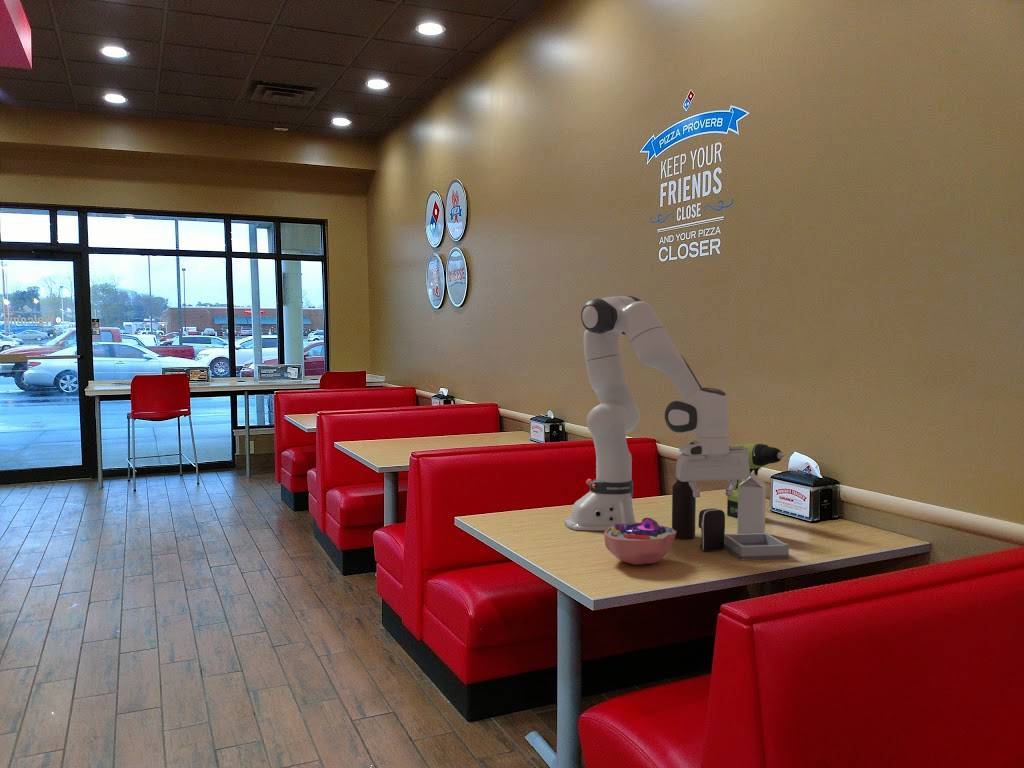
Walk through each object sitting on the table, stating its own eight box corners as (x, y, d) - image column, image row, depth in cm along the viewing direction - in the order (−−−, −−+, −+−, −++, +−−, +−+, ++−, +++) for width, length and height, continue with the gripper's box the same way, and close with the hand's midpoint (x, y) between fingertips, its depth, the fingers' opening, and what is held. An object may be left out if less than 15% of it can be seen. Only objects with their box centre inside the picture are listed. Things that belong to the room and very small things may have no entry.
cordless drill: (791, 526, 234) (793, 447, 233) (775, 529, 231) (777, 448, 230) (737, 511, 255) (738, 438, 253) (721, 513, 251) (722, 439, 250)
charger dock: (741, 560, 199) (742, 545, 199) (722, 546, 212) (722, 533, 212) (788, 558, 201) (789, 544, 200) (767, 545, 214) (767, 531, 213)
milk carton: (764, 533, 227) (766, 470, 226) (762, 538, 220) (763, 474, 219) (740, 530, 230) (741, 469, 229) (737, 536, 223) (738, 472, 222)
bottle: (682, 540, 218) (682, 472, 217) (666, 535, 224) (667, 468, 223) (700, 537, 221) (701, 470, 220) (684, 532, 227) (685, 467, 226)
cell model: (589, 559, 200) (589, 517, 200) (648, 548, 210) (648, 508, 209) (629, 576, 186) (629, 531, 185) (690, 564, 195) (690, 521, 195)
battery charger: (716, 546, 212) (717, 506, 212) (725, 550, 209) (726, 509, 208) (696, 549, 210) (696, 508, 209) (704, 552, 206) (705, 511, 205)
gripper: (744, 444, 212) (744, 492, 212) (673, 446, 209) (674, 495, 210) (753, 446, 205) (753, 496, 206) (681, 449, 203) (681, 500, 204)
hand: (713, 496), depth 208 cm, fingers open, 8 cm apart
